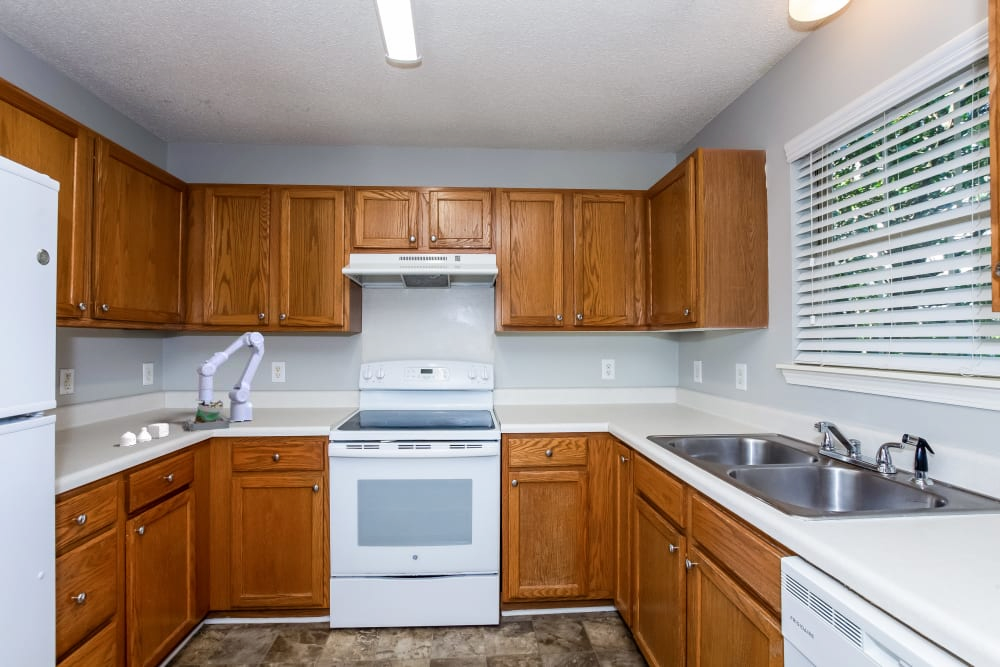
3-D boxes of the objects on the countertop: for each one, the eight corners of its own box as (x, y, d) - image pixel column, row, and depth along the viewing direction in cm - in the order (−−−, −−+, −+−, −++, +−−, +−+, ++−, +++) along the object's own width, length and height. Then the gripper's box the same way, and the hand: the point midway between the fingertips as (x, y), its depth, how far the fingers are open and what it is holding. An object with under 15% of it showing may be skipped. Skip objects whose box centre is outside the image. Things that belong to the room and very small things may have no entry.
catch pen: (223, 422, 229) (223, 416, 229) (229, 427, 216) (229, 421, 216) (186, 425, 220) (186, 419, 220) (189, 431, 207) (189, 424, 207)
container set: (156, 436, 198) (156, 423, 198) (168, 436, 198) (168, 423, 198) (115, 447, 178) (115, 432, 178) (128, 447, 178) (129, 432, 178)
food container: (201, 430, 214) (209, 410, 212) (191, 424, 215) (198, 404, 214) (223, 424, 226) (230, 405, 224) (213, 418, 227) (220, 399, 226)
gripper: (194, 388, 226) (193, 416, 226) (197, 390, 215) (196, 421, 215) (211, 387, 231) (211, 415, 230) (215, 390, 219) (215, 419, 219)
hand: (205, 418), depth 223 cm, fingers closed
